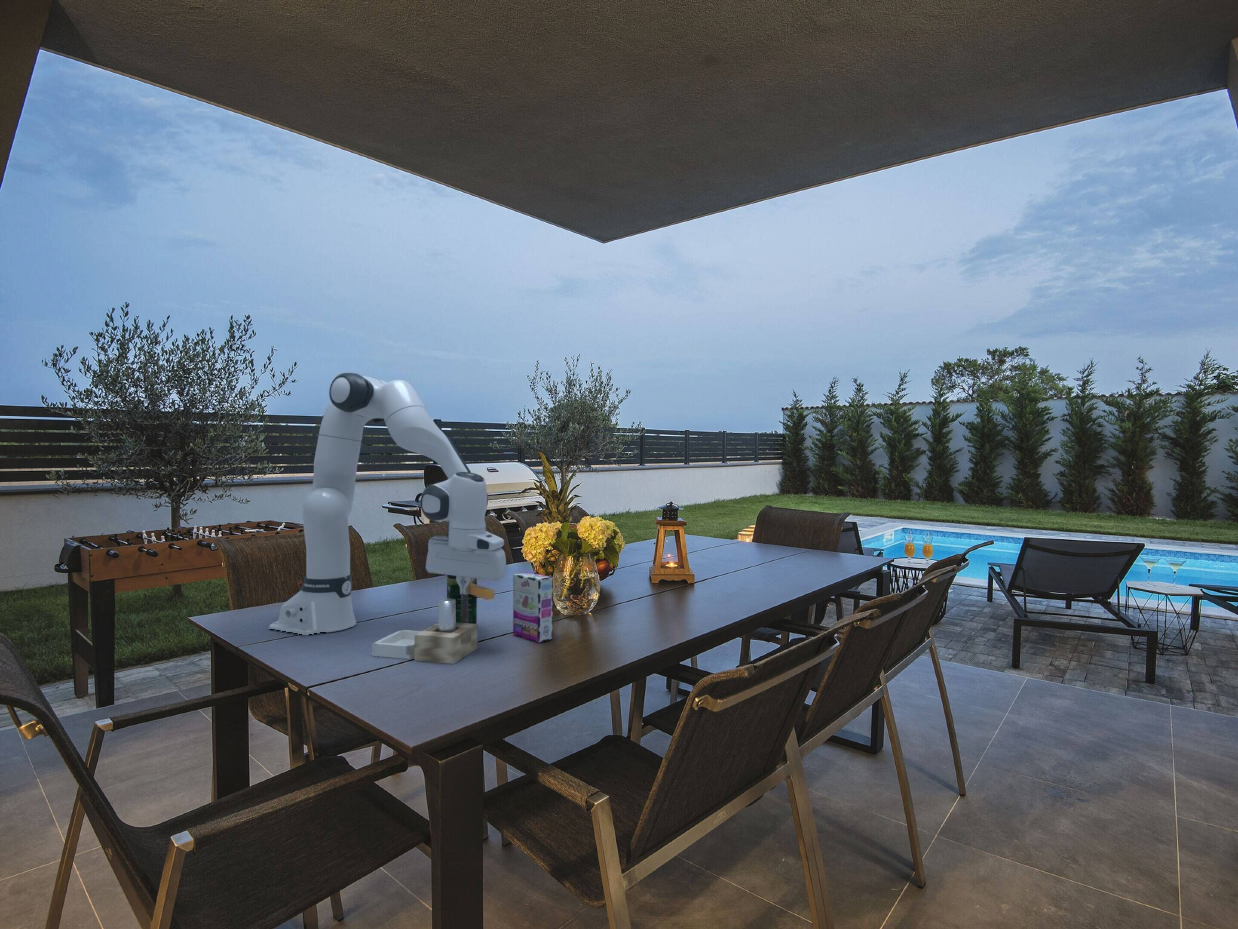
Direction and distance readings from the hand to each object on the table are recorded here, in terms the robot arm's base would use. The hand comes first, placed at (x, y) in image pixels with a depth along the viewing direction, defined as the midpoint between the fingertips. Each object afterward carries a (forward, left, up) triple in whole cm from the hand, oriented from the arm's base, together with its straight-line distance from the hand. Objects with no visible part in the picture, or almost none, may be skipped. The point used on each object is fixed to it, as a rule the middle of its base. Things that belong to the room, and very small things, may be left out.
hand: (464, 594), depth 151 cm
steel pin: (-2, -5, -14) cm, 15 cm away
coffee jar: (-8, +14, -14) cm, 21 cm away
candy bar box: (+13, +13, -14) cm, 23 cm away
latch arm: (+3, +1, 0) cm, 3 cm away
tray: (-14, -4, -14) cm, 20 cm away
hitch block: (-2, -2, -14) cm, 14 cm away
